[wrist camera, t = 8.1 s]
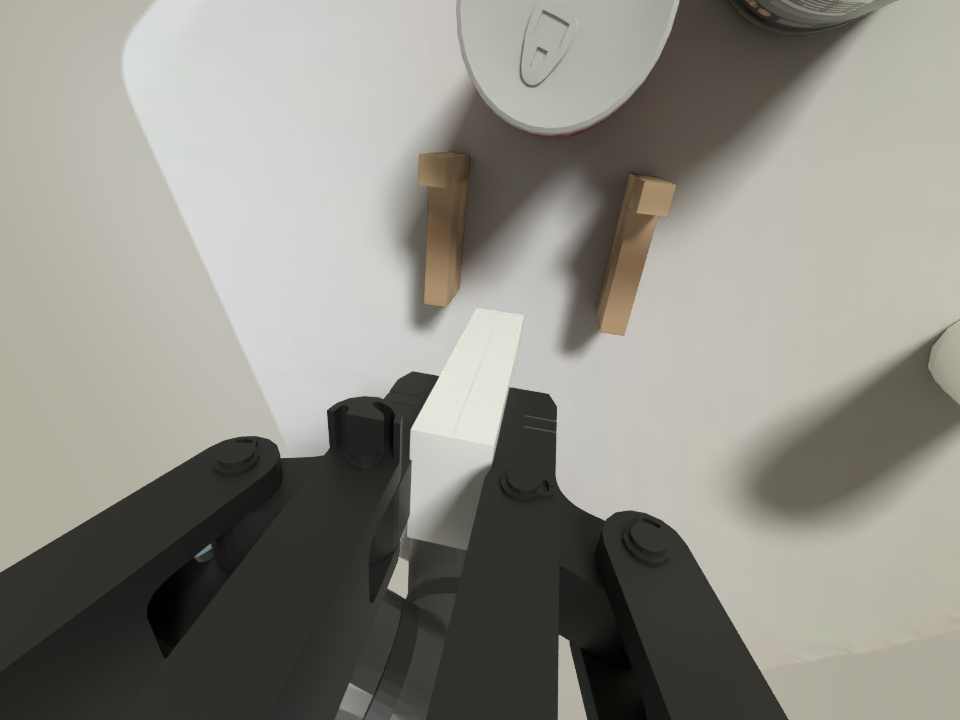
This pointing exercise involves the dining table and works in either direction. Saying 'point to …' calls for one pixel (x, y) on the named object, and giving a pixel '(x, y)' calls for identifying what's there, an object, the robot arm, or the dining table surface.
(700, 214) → the dining table surface
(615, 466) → the dining table surface
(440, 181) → the chute
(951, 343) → the foam cup
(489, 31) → the canned food
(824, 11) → the supplement container
